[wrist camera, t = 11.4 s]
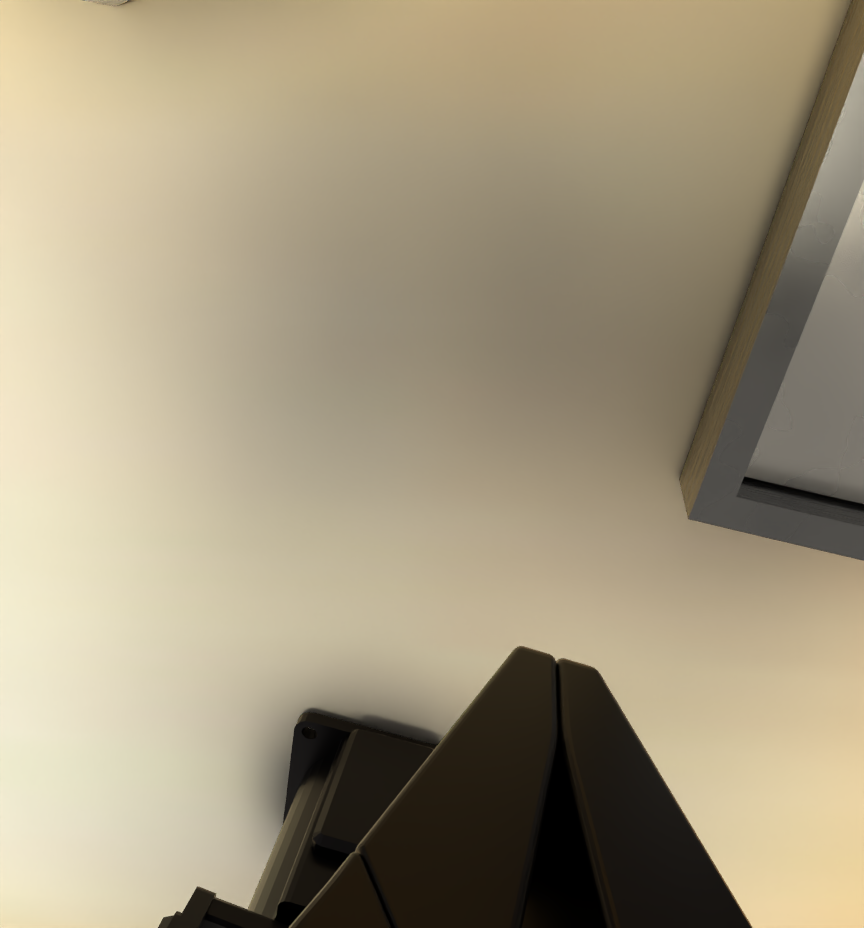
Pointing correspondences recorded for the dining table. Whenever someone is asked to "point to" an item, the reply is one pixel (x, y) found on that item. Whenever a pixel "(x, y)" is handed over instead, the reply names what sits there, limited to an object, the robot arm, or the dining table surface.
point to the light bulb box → (109, 2)
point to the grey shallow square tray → (798, 347)
